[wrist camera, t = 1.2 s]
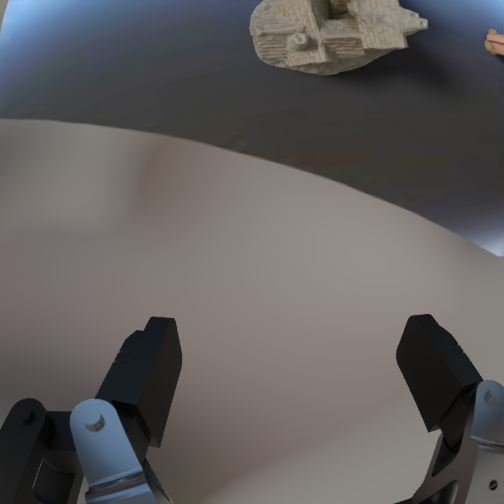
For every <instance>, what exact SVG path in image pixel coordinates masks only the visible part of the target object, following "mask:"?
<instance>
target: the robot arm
mask: <svg viewBox="0 0 504 504" xmlns="http://www.w3.org/2000/svg"><path fill="white" fill-rule="evenodd" d="M396 359H397V364H398V366H399V368H400V370H401V372H402V374H403V376H404V379H405V381H406V383H407V385H408V387H409V389H410V391H411V393H412V396H413V398H414V400H415V402H416V405H417V407H418V409H419V411H420V414H421V416H422V418H423V421H424V423H425V425H426V428H427V430H428V432H432V431H435V430H438V429H441V431H442V433H441V435H440V436H439V438H438V440H437V444H436V447H435V450H434V453H433V456H432V460H431V462H430V466H429V468H428V471H427V474H426V476H425V479H424V481H423V483H422V484H421V486H420V487H419V488H418V490H417V491H416V492H415V493H414V495H413V497H412V498H410V499H407V500H404V501H401V502H398V503H395V504H504V387H503V386H502V385H501V384H500V383H498V382H496V381H493V380H485V381H484V380H483V379H482V377H481V376H480V374H479V373H478V371H477V370H476V368H475V367H474V365H473V364H472V362H471V361H470V360H469V358H468V357H467V355H466V354H465V353H463V350H462V348H461V347H460V345H458V343H457V341H456V340H455V339H454V337H453V336H452V335H451V334H450V333H449V332H448V331H447V330H445V329H444V328H442V327H441V326H439V324H438V323H437V322H436V320H435V319H434V318H433V316H432V315H430V314H423V315H413V316H410V317H409V319H408V321H407V324H406V326H405V329H404V332H403V335H402V337H401V340H400V342H399V345H398V348H397V352H396ZM181 367H182V351H181V346H180V341H179V337H178V331H177V326H176V321H175V319H174V318H166V317H151V318H150V319H149V321H148V323H147V325H146V327H145V329H144V331H140V330H136V331H135V332H134V333H133V334H132V335H130V336H129V337H128V338H127V339H126V340H125V341H124V343H123V345H122V347H121V349H120V352H119V353H118V354H117V356H116V358H115V362H113V364H112V366H111V367H110V369H109V371H108V373H107V375H106V377H105V379H104V381H103V383H102V385H101V387H100V389H99V391H98V393H97V395H96V397H95V398H94V399H90V400H86V401H84V402H82V403H80V404H79V405H77V407H75V408H74V410H73V411H71V412H67V411H65V412H64V411H47V410H46V409H45V408H44V406H43V405H42V403H40V402H39V401H38V400H36V399H33V398H26V399H22V400H20V401H18V402H17V403H16V404H15V405H14V406H13V407H12V409H11V410H10V412H9V414H8V416H7V418H6V420H5V422H4V423H3V425H2V427H1V429H0V504H77V500H78V495H79V492H80V488H81V484H82V481H83V477H84V475H85V478H86V480H87V483H88V487H89V490H88V491H87V492H86V493H85V501H86V504H174V503H173V502H172V500H171V499H170V497H169V496H168V494H167V493H166V491H165V489H164V488H163V486H162V485H161V483H160V481H159V479H158V478H157V476H156V474H155V472H154V471H153V469H152V467H151V465H150V464H149V462H148V460H147V458H146V453H147V449H148V446H152V447H158V448H160V445H161V441H162V437H163V433H164V430H165V426H166V422H167V418H168V415H169V411H170V407H171V403H172V400H173V396H174V392H175V389H176V385H177V382H178V378H179V375H180V371H181ZM42 460H43V461H42ZM41 462H42V464H41ZM40 464H41V467H40ZM39 467H40V470H39ZM38 470H39V472H38ZM37 473H38V475H37ZM36 476H37V478H36ZM35 478H36V481H35ZM34 481H35V484H34ZM33 484H34V487H33Z"/></svg>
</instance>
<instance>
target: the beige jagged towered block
mask: <svg viewBox="0 0 504 504" xmlns="http://www.w3.org/2000/svg"><path fill="white" fill-rule="evenodd" d="M249 28H250V34H251V36H253V42H254V45H255V50H256V52H257V54H258V56H259V57H260V59H261V60H262V61H263V62H265V63H267V64H269V65H272V66H276V67H279V68H280V67H281V68H287V69H291V70H296V71H301V72H305V73H309V74H317V75H324V76H326V75H331V74H338V73H339V72H343V71H348V70H353V69H355V68H359V67H361V66H365V65H367V64H368V63H370V62H371V61H373V60H374V59H377V58H378V57H380V56H383V55H385V54H388V53H389V52H390V51H393V50H396V49H403V48H409V47H408V44H407V40H406V37H405V36H408V35H411V34H414V33H416V32H417V31H419V30H425V29H428V20H426V19H423V18H420V17H419V15H418V13H415V12H413V11H411V10H407V9H404V8H403V7H401V6H400V3H399V0H263V1H262V2H261V3H260V4H259V5H258V6H257V7H256V8H255V10H254V12H253V13H252V15H251V20H250V27H249Z"/></svg>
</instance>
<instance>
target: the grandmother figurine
mask: <svg viewBox="0 0 504 504" xmlns="http://www.w3.org/2000/svg"><path fill="white" fill-rule="evenodd" d="M485 47H486V49H487V50H488V51H489V52H491V53H492V54H493V55H497V54H502V55H504V35H498V33H497V32H496V31H495V30H494V29H492V28H490V29H489V34H488V35H487V39H486V40H485Z"/></svg>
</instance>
